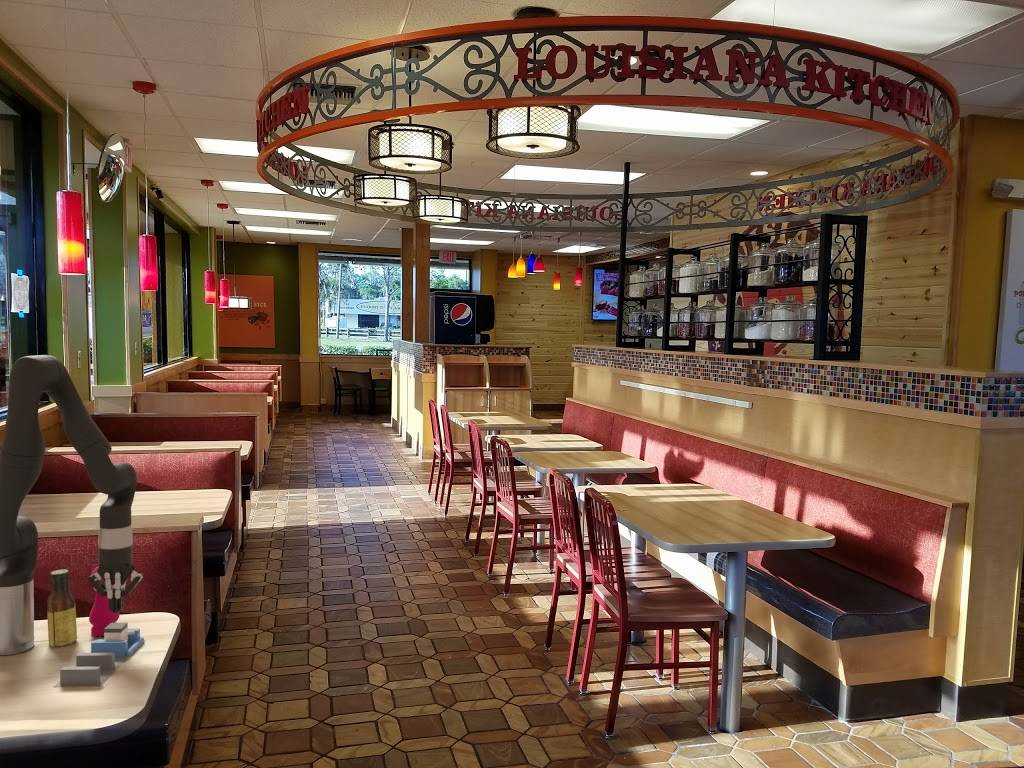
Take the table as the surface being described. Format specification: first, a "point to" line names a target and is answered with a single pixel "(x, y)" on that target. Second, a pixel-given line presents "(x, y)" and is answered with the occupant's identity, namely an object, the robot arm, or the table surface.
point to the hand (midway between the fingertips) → (116, 611)
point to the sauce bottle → (61, 611)
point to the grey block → (116, 631)
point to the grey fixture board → (100, 661)
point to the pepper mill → (101, 613)
